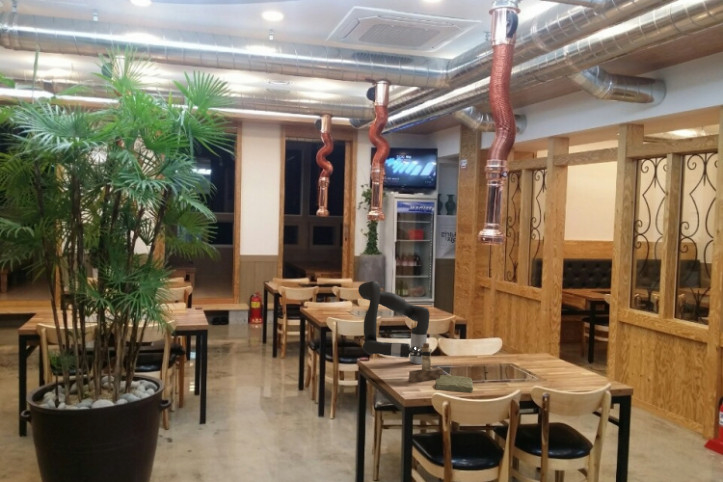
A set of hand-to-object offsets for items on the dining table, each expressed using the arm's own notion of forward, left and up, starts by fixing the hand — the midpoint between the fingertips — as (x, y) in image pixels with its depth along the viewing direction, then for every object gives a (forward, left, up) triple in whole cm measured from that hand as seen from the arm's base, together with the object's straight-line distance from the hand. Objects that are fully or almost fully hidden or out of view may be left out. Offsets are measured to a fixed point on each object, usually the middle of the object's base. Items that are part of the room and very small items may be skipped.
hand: (430, 352), depth 333 cm
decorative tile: (-4, +15, -15) cm, 21 cm away
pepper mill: (+1, -1, -9) cm, 10 cm away
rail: (+1, -1, -14) cm, 15 cm away
